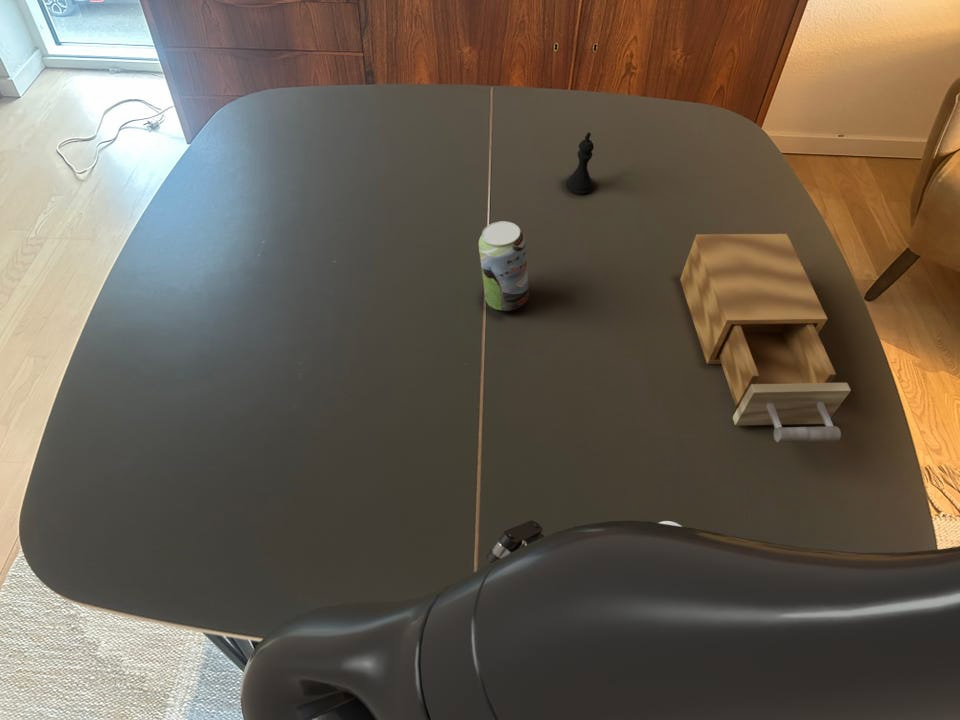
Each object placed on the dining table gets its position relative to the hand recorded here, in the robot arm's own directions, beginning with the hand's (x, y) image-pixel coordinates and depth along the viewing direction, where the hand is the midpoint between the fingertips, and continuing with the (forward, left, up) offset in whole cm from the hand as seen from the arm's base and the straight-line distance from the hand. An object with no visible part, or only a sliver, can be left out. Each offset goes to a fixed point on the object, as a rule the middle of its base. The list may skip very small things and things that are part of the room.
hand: (611, 585), depth 57 cm
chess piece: (+49, -54, -16) cm, 74 cm away
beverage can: (+39, -27, -16) cm, 50 cm away
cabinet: (+15, -49, -16) cm, 53 cm away
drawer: (+5, -40, -15) cm, 43 cm away
